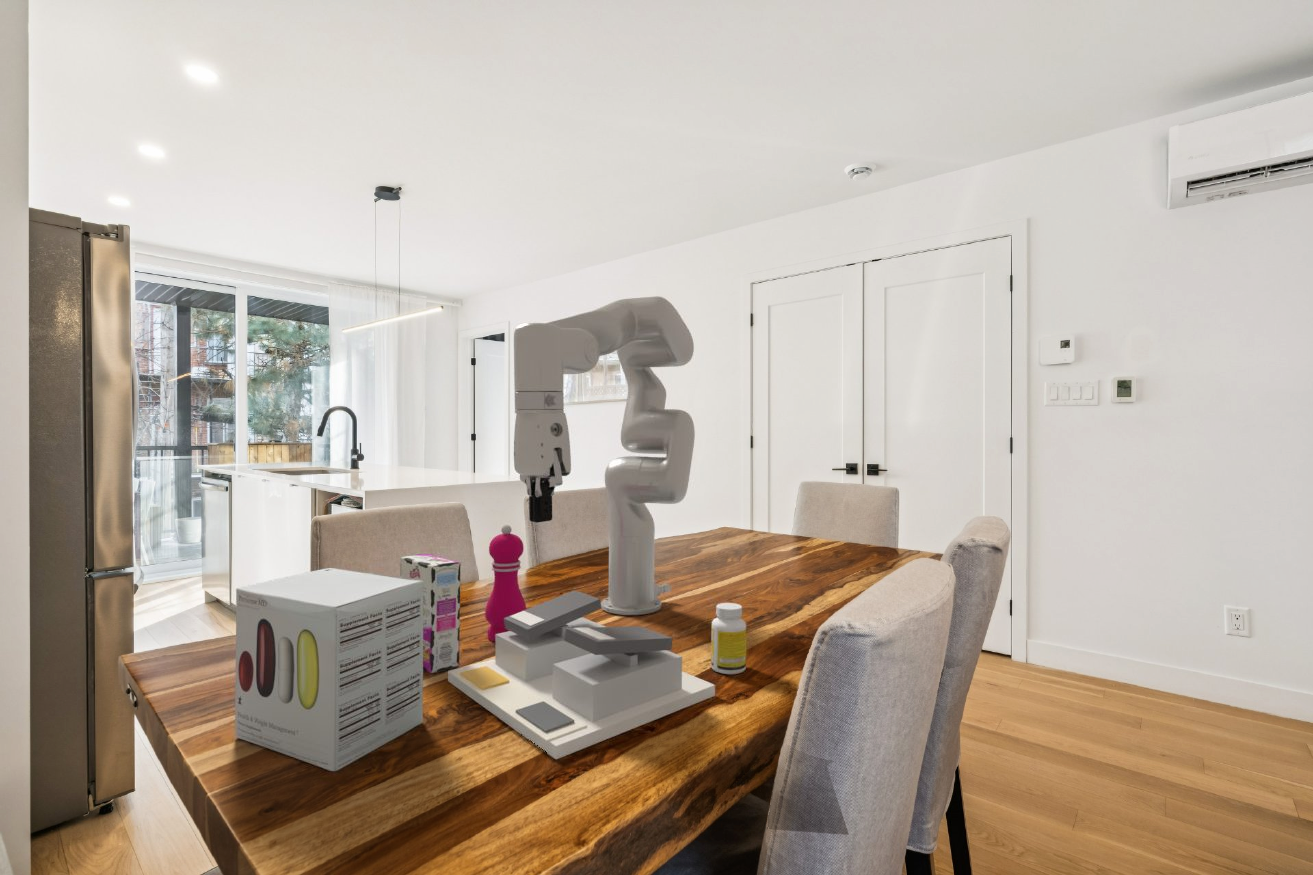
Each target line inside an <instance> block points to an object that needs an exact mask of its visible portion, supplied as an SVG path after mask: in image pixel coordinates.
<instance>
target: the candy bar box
mask: <svg viewBox="0 0 1313 875" xmlns="http://www.w3.org/2000/svg"><path fill="white" fill-rule="evenodd" d="M399 577H400V578H407V579H413V580H421V581H423V583H424V585H423V671H426V672H427V673H430V674H431V675H432V674H436V673H440V672H444V671H449V670H453V669H454V668H455V669H456V668H459V666H460V633H461V631H460V628H461V627H460V626H461V624H460V622H461V620H460V618H461V614H460V612H461V562H460V561H456V560H453V559H449V558H445V557H442V556H438V555H435V554H429V553H420V554H411V555H406V556H401V557H400V576H399Z"/></svg>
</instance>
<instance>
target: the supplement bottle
mask: <svg viewBox="0 0 1313 875" xmlns="http://www.w3.org/2000/svg"><path fill="white" fill-rule="evenodd" d="M715 609H716V610H715V615H716V616H717V617H716V618H714V619H713V620H712V621H711V640H710V641H711V644H710V650H711V651H710V652H711V653H710V664H711V668H712V670H713V671H715V672H717V673H719V674H724V675H737V674H741V673H743V672H745V670H746V668H747V623H746V622H745V620H744V619H742V618H741V617H743V616H742V615H743V606H742V605H741V604H739V603H735V602H734V603H732V602H721V603H718V604H716V606H715Z"/></svg>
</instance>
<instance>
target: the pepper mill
mask: <svg viewBox="0 0 1313 875" xmlns="http://www.w3.org/2000/svg"><path fill="white" fill-rule="evenodd" d="M500 531H501V533H500V534H498V535H496V536H494V537H493V538H492V539H491V541H490V543H489V546H488V553H489V555H490V557H491V558H492V559H493V561H492V562H491V565H492V566H491V570H492V571H493V572H494V573H493V576H494V582H493V588H492V591H491V593H490V596H489V598H488V600H487V602H486V606H485V609H484V610H485V611H484V617H485V620H486V621H487V623H488V624H489V626H488V628H487V639H488V640H489V641H491V642H493V643H495V634H499V633H504V632H508V631H509V630H507V629H505V623H504V618H506V617H508V616H511V615H514V614H516V613H519V612H521V611H524V610H526V609H527V605H526V601H525V599H524V597H523V595H522V592H521V588H520V585H519V580H518V579H519V578H518V574H519V570H520V569H521V560H519V559H520V557H521V556H522V555H523V553H524V549H525V547H524V543H523V540H522V539H521V538H520V537H519V535H517V534H514V533H512V527H511V526H510V525H508V524H505V525H503V526H502V527H501V530H500Z"/></svg>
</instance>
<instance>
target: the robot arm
mask: <svg viewBox="0 0 1313 875" xmlns="http://www.w3.org/2000/svg"><path fill="white" fill-rule="evenodd" d="M694 349H695V346H694V339H693V337H692V333H691V332H690V330H689V328H688V326H687V324H686V323H685V321H684V320H683V318H682V316H681V315H680V313H679V312H678V310H677V309H676V307H675V306H674V305H673V304H672V303H671V301H669V300H668V299H666V298H665V297H662V296H646V297H631V298H630V297H629V298H623V299H618V300H615V301H613V302H610V303H608V304H606V305H603V306H600V307H599V308H596V309H594V310H592V311H586V312H583V313H579V314H575V315H573V316H568V317H564V318H562V319H561V318H560V319H556V320H553V321H549V322H545V323H544V322H529V323H523V324H520V325H518V326H516V327H515V329H514V332H513V371H514V372H513V374H514V378H513V379H514V384H513V386H514V387H513V388H514V414H515V419H514V420H515V422H514V432H513V433H514V434H513V462H514V463H513V466H514V470H515V472H516V473H517V474H519V479H520V481H521V482H523V483H524V484H525V486H526V494H527V496H528V504H529V505H528V508H529V509H528V511H529V512H528V516H529V518H528V519H529V521H530V522H533V523H543V522H549V521H552V520H553V496H554V494H555V488H556V487H560V486H562V485H563V482H564V481H563V477H566V476H567V477H568V476H569V475H570V474H571V471H572V459H571V458H572V457H571V455H572V454H571V441H570V433H569V431H570V430H569V425H568V420H567V415H566V412H565V410H564V409H565V406H564V405H565V404H564V403H565V402H564V401H565V400H564V399H565V398H564V394H565V393H564V375H578V374H585V373H588V372H590V371H591V370H593V369H594V368H595V367H596V366H597V364H598V362H599V361H600V360H599V359H600V357H601V356H607V355H610V354H612V353H614V352H616V353H617V358H618V359H619V363H620V367H621V369H622V372H623V375H624V377H625V380H626V384H627V398H626V401H625V402H626V404H625V407H624V413H623V420H622V424H621V430H620V443H621V446H622V447H623V449H625V450H626V451H628V452H630V453H634V454H647V455H648V454H649V455H650V454H651V455H652V454H654V455H665V457H664V456H663V457H661V456H660V457H658V456H641V455H639V456H635V455H634V456H633V455H632V456H631V455H628V456H626V455H625V456H619V457H617V458H615V459H612V460H611V461H610V462H609V463H608V465H607V467H606V468H605V471H604V484H605V491H606V496H607V503H608V518H609V520H608V523H609V524H608V526H609V527H608V529H609V530H608V597H605V598H603V600H601V608H602V610H603V611H605V612H607V613H608V614H614V615H620V616H641V615H647V614H652V613H655V612H656V613H657V612H658V611H659V610H660V609H662V601H661V600H660V598H659V596H661V594H667V593H670V592H671V591H672V588H671V585H670V584H669V583H663V584H658V583H656V582H655V532H656V530H655V529H656V528H655V527H656V526H655V521H654V518H653V516H652V513H651V512H650V510H649V509H648V507H647V506H646V504H660V505H663V504H664V505H673V504H675V505H676V504H679V503H681V502H683V500H684V498H685V496H686V494H687V491H688V487H689V482H690V475H691V467H692V460H693V454H694V446H695V434H696V433H695V432H696V431H695V424H694V420H693V418H692V416H691V414H690V413H689V412H687V411H685V410H682V409H677V408H675V409H674V408H672V409H667V408H665V407H666V400H667V391H666V388H665V386H664V384H663V382H662V380H660V378H659V377H658V376H657V374H655V373H654V371H653V369H652V368H666V367H667V368H668V367H683V366H685V365H687V364H688V363H689V362H690V361H691V360H692V358H693V355H694V351H695V350H694Z"/></svg>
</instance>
